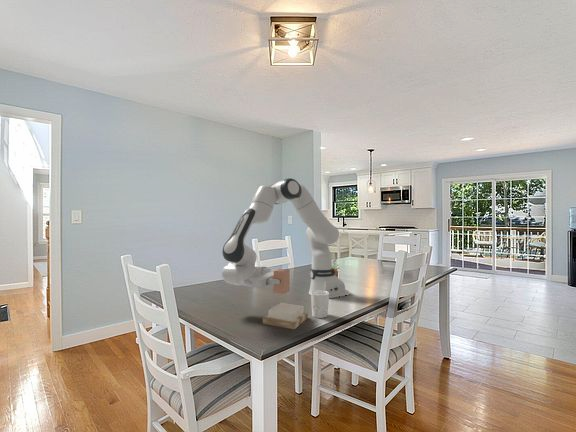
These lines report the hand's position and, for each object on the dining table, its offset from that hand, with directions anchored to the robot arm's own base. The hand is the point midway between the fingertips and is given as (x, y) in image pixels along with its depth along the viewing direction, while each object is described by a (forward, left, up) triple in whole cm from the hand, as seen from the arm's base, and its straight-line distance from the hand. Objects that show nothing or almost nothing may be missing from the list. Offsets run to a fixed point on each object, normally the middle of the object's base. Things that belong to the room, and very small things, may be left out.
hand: (283, 280), depth 125 cm
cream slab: (-1, +1, -15) cm, 15 cm away
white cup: (-17, -1, -17) cm, 24 cm away
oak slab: (-1, +1, -18) cm, 18 cm away
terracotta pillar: (+1, -1, -5) cm, 5 cm away
